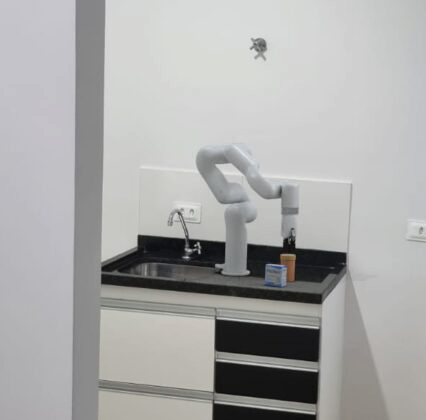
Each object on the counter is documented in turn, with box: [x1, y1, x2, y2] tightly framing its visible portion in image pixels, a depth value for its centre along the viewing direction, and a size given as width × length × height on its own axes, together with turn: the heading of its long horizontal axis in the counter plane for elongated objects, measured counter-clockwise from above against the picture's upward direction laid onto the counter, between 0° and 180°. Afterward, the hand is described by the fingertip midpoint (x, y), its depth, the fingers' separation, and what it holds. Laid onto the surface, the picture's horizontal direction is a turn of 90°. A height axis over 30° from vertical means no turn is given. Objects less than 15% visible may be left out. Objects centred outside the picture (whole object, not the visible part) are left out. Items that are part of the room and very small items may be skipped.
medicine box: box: [264, 263, 287, 288], centre depth 358 cm, size 8×4×9 cm, turn 66°
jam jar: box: [280, 259, 296, 283], centre depth 371 cm, size 6×6×10 cm
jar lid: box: [279, 253, 297, 261], centre depth 371 cm, size 7×7×2 cm
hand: (289, 251), depth 371 cm, fingers open, 7 cm apart
